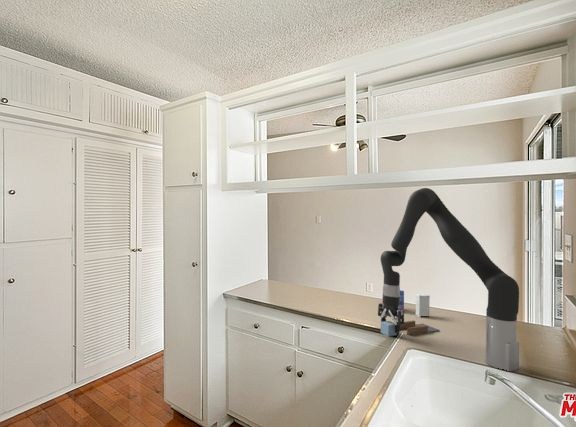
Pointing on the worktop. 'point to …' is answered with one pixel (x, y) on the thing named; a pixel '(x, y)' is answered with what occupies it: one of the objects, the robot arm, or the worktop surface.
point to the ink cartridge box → (401, 301)
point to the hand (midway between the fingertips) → (390, 329)
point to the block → (388, 328)
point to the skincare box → (422, 304)
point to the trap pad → (430, 329)
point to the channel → (413, 328)
